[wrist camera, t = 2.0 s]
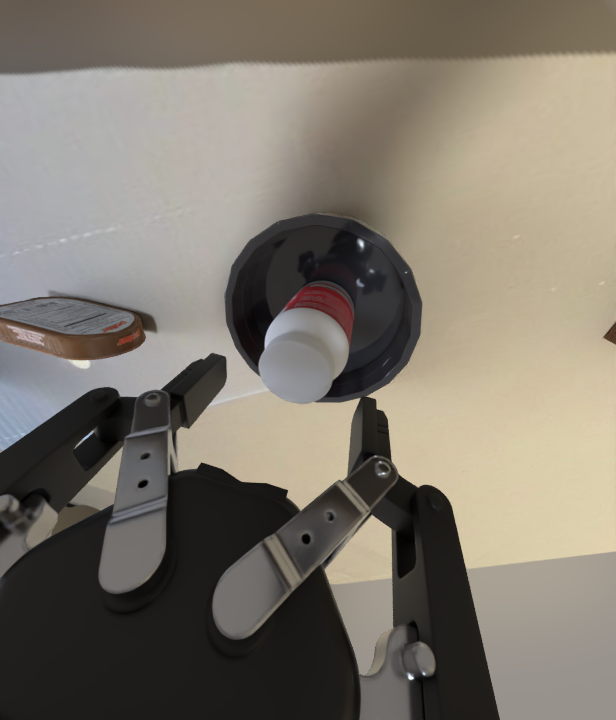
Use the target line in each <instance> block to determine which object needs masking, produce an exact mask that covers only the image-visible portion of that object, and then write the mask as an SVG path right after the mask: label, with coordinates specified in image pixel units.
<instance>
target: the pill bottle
mask: <svg viewBox="0 0 616 720" xmlns="http://www.w3.org/2000/svg"><path fill="white" fill-rule="evenodd" d="M353 321H354V305H353V302H352V299H351V297H350V296H349V294H348V293H347V292H346V291H345V290H344V289H343V288H342V287H341V286H339V285H337V284H335V283H333V282H330V281H314V282H311V283H309V284H307V285H305V286H304V287H302V288H301V289H300V290H299V291H298V292H297V293H296V294H295V296H294V297H293V298H292V299H291V300H290V301H289V303H288V304H287V305H286V306H285V307H284V309H283V310H282V311H281V312H280V313H279V315H278V316H277V317H276V318H275V319H274V320H273V322H272V323H271V325H270V326H269V328H268V330H267V333H266V337H265V350H264V352H263V353H262V355H261V357H260V360H259V373H260V376H261V379H262V381H263V382H264V384H265V385H266V387H267V388H268V389H269V390H270V391H271V392H272V393H273V394H275V395H276V396H278V397H280V398H281V399H284V400H286V401H289V402H292V403H299V404H307V403H312V402H315V401H317V400H319V399H321V398H322V397H324V396H325V395H326V394H327V392H328V391H329V389H330V387H331V385H332V381H333V380H334V379H335V378H336V377H337V376H338V375H339V374H340V373H341V372H342V371H343V369H344V367H345V365H346V363H347V360H348V355H349V350H350V342H351V335H352V328H353Z"/></svg>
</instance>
